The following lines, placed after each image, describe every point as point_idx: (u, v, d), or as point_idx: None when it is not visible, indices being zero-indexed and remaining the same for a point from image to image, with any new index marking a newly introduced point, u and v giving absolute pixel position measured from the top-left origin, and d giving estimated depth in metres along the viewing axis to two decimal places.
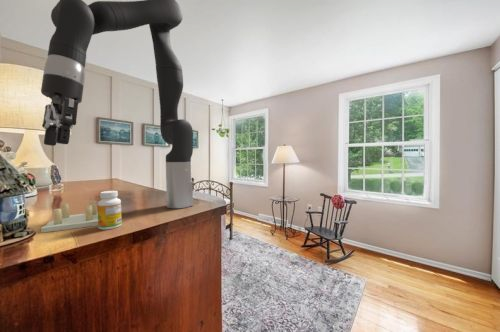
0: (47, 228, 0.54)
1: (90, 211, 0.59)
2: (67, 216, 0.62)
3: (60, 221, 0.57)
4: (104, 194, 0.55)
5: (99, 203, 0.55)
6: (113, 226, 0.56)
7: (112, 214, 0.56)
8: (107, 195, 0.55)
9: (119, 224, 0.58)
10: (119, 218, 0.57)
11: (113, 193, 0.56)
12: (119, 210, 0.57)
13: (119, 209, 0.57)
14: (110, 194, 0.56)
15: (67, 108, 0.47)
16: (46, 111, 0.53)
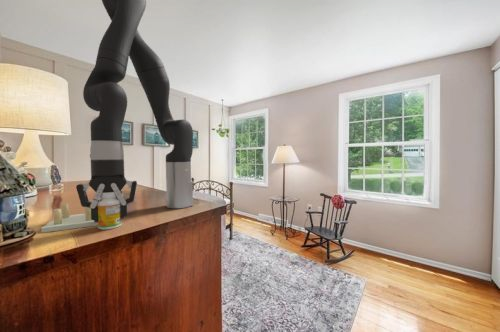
0: (47, 228, 0.54)
1: (90, 211, 0.59)
2: (67, 216, 0.62)
3: (60, 221, 0.57)
4: (104, 194, 0.55)
5: (99, 203, 0.55)
6: (113, 226, 0.56)
7: (112, 214, 0.56)
8: (107, 195, 0.55)
9: (119, 223, 0.57)
10: (119, 218, 0.57)
11: (113, 193, 0.56)
12: (119, 210, 0.57)
13: (119, 209, 0.57)
14: (110, 194, 0.56)
15: (135, 190, 0.60)
16: (83, 190, 0.54)
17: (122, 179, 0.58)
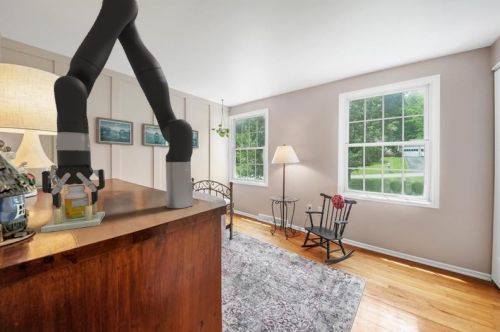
0: (47, 228, 0.54)
1: (90, 211, 0.59)
2: None
3: (60, 221, 0.57)
4: (70, 188, 0.59)
5: (66, 196, 0.59)
6: (79, 218, 0.60)
7: (78, 206, 0.59)
8: (73, 189, 0.59)
9: None
10: None
11: (79, 187, 0.60)
12: (86, 203, 0.61)
13: (86, 202, 0.61)
14: (76, 188, 0.59)
15: (103, 177, 0.63)
16: (47, 177, 0.57)
17: (87, 169, 0.61)
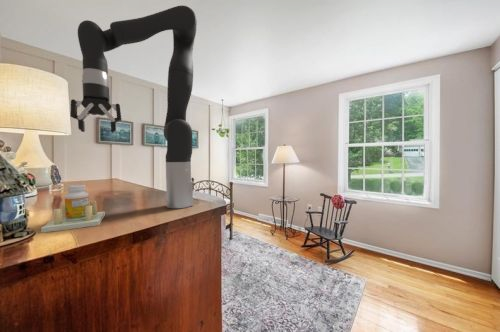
0: (47, 228, 0.54)
1: (90, 211, 0.59)
2: None
3: (60, 221, 0.57)
4: (71, 188, 0.59)
5: (66, 196, 0.59)
6: (79, 218, 0.60)
7: (78, 206, 0.59)
8: (73, 189, 0.59)
9: None
10: None
11: (80, 187, 0.60)
12: (86, 203, 0.61)
13: (86, 202, 0.61)
14: (76, 188, 0.59)
15: (120, 111, 0.76)
16: (75, 105, 0.69)
17: (107, 102, 0.74)
